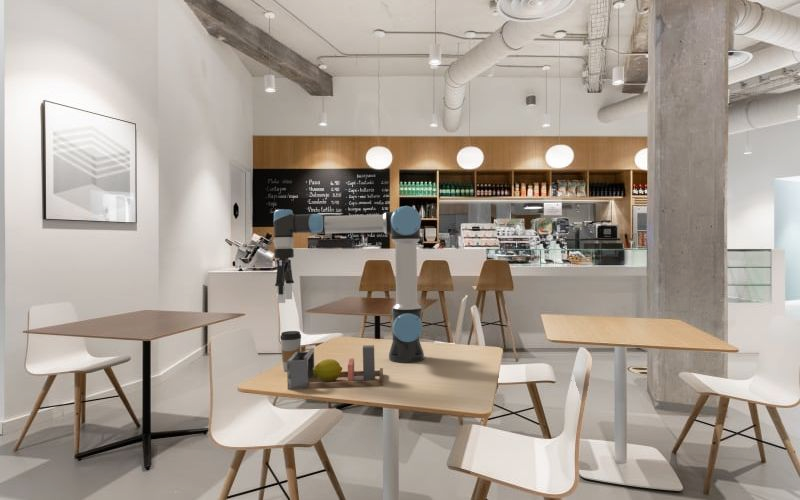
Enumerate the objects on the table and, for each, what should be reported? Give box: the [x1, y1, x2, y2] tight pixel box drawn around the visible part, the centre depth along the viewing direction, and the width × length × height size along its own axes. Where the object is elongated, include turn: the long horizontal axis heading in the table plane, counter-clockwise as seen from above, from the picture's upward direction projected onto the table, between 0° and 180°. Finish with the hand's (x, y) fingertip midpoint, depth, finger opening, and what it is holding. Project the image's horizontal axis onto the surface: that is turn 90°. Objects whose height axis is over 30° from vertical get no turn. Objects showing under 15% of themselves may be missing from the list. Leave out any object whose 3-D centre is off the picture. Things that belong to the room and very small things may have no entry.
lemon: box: [313, 358, 343, 382], centre depth 174 cm, size 11×8×8 cm
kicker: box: [347, 344, 376, 381], centre depth 174 cm, size 9×10×12 cm
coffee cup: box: [279, 330, 302, 372], centre depth 193 cm, size 8×8×15 cm
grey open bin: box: [286, 347, 315, 389], centre depth 174 cm, size 7×16×11 cm, turn 2°
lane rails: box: [307, 367, 384, 389], centre depth 174 cm, size 26×15×2 cm, turn 92°
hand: (285, 301), depth 192 cm, fingers open, 13 cm apart
